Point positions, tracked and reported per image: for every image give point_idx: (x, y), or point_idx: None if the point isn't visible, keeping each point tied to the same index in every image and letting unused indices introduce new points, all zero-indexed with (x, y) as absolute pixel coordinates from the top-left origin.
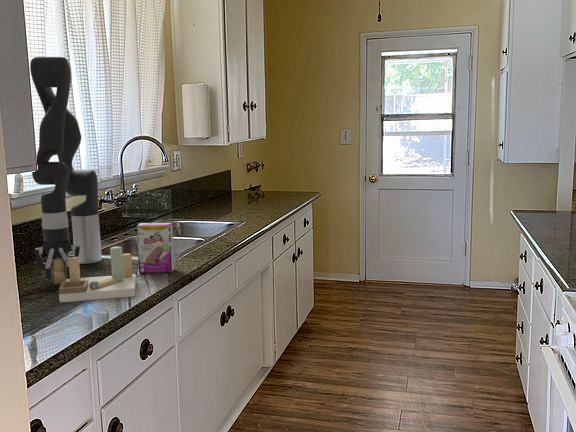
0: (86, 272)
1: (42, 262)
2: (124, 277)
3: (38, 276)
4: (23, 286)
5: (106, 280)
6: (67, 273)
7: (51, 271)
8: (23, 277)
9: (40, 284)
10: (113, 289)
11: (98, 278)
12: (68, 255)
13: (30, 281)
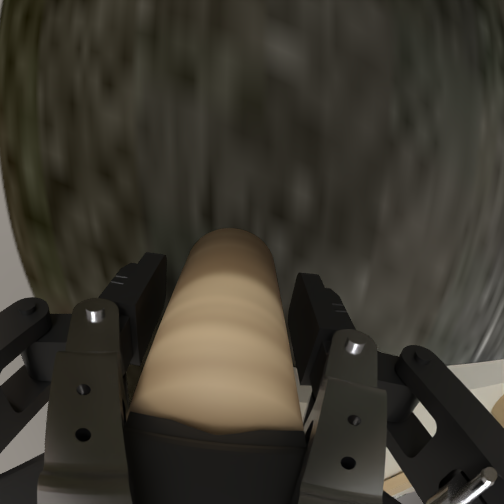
0: (431, 54)
1: (32, 355)
2: (491, 412)
3: (72, 24)
4: (22, 257)
5: (409, 484)
6: (295, 347)
7: (148, 304)
8: (2, 41)
9: (98, 254)
10: (395, 494)
11: (426, 418)
12: (381, 415)
13: (31, 149)
